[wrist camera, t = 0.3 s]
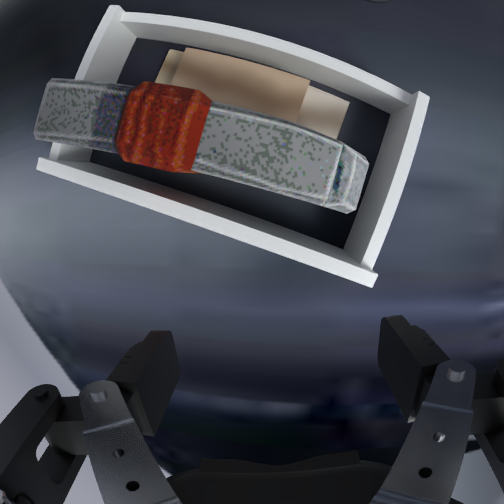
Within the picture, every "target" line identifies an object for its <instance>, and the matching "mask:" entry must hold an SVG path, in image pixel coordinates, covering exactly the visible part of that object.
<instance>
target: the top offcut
mask: <svg viewBox="0 0 504 504" xmlns="http://www.w3.org/2000/svg"><path fill="white" fill-rule="evenodd" d="M309 83H310V80H307V79H304V78H301V77H299V76H296V75H293V74H290V73H287V72H283V71H280V70H277V69H274V68H270V67H267V66H264V65H260V64H257V63H253V62H249V61H246V60H242V59H238V58H234V57H230V56H225V55H221V54H217V53H212V52H207V51H202V50H197V49H192V48H187V47H186V49H185V52H184V54H183V56H182V59H181V61H180V63H179V66H178V68H177V70H176V73H175V75H174V78H173V80H172V83H171V85H174V86H180V87H186V88H191V89H196V90H200V91H202V92H203V93H204V94H205V95H206V96H207V97H209V98H210V99H211V100H212V101H215V102H220V103H224V104H228V105H232V106H236V107H241V108H245V109H248V110H252V111H256V112H260V113H263V114H267V115H271V116H274V117H278V118H281V119H284V120H288V121H291V122H294V123H296V120H297V117H298V114H299V111H300V108H301V106H302V103H303V100H304V97H305V94H306V91H307V88H308V86H309Z"/></svg>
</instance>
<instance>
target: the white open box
mask: <svg viewBox="0 0 504 504" xmlns="http://www.w3.org/2000/svg"><path fill="white" fill-rule="evenodd" d="M136 38H144V39H152V40H159V41H165V42H172V43H178V44H183V45H189V46H194V47H199V48H204V49H208V50H213V51H217V52H221V53H226V54H230V55H234V56H237V57H241V58H245V59H249V60H252V61H256V62H259V63H263V64H266V65H269V66H272V67H276V68H279V69H282V70H285V71H288V72H291V73H294V74H297V75H299V76H302V77H305V78H308V79H310V80H313V81H316V82H318V83H321V84H324V85H326V86H329V87H331V88H334V89H336V90H339V91H341V92H343V93H346V94H348V95H350V96H353V97H355V98H357V99H359V100H362V101H364V102H366V103H368V104H370V105H372V106H374V107H377V108H379V109H381V110H383V111H385V112H387V113H389V114H391V115H390V118H389V121H388V125H387V128H386V131H385V134H384V137H383V141H382V144H381V147H380V150H379V153H378V156H377V159H376V162H375V165H374V168H373V171H372V174H371V176H370V179H369V182H368V185H367V188H366V191H365V193H364V196H363V199H362V202H361V204H360V207H359V210H358V212H357V215H356V218H355V220H354V223H353V225H352V228H351V231H350V233H349V236H348V238H347V241H346V243H345V246H344V248H343V249H341V248H338V247H336V246H333V245H331V244H328V243H325V242H323V241H320V240H317V239H315V238H312V237H309V236H307V235H304V234H301V233H299V232H296V231H293V230H290V229H288V228H285V227H282V226H279V225H277V224H274V223H271V222H268V221H266V220H263V219H260V218H257V217H254V216H252V215H249V214H246V213H243V212H240V211H238V210H235V209H232V208H229V207H226V206H223V205H220V204H217V203H214V202H212V201H209V200H206V199H203V198H200V197H197V196H194V195H191V194H188V193H185V192H182V191H179V190H176V189H173V188H170V187H167V186H164V185H161V184H158V183H155V182H152V181H149V180H145V179H142V178H139V177H136V176H133V175H130V174H127V173H123V172H120V171H117V170H114V169H111V168H107V167H104V166H101V165H98V164H94V163H91V162H90V158H91V155H92V151H93V149H90V148H85V147H79V146H73V145H68V144H62V143H55V142H53V144H52V148H51V152H50V155H49V158H46V157H39V160H38V164H37V168H36V170H39V171H42V172H45V173H48V174H51V175H54V176H57V177H60V178H63V179H65V180H68V181H71V182H74V183H77V184H80V185H83V186H86V187H89V188H92V189H95V190H97V191H100V192H103V193H106V194H109V195H112V196H115V197H118V198H121V199H123V200H126V201H129V202H132V203H135V204H138V205H141V206H143V207H146V208H149V209H152V210H155V211H158V212H161V213H164V214H166V215H169V216H172V217H175V218H178V219H181V220H183V221H186V222H189V223H192V224H195V225H198V226H201V227H203V228H206V229H209V230H212V231H215V232H218V233H220V234H223V235H226V236H229V237H232V238H235V239H237V240H240V241H243V242H246V243H249V244H251V245H254V246H257V247H260V248H263V249H265V250H268V251H271V252H274V253H277V254H279V255H282V256H285V257H288V258H291V259H293V260H296V261H299V262H302V263H305V264H307V265H310V266H313V267H316V268H319V269H321V270H324V271H327V272H330V273H332V274H335V275H338V276H341V277H344V278H346V279H349V280H352V281H355V282H357V283H360V284H363V285H366V286H368V287H371V288H372V287H373V285H374V283H375V281H376V278H377V276H378V274H377V273H376V272H374V271H373V270H372V268H373V266H374V264H375V261H376V259H377V257H378V254H379V252H380V249H381V247H382V244H383V242H384V239H385V237H386V234H387V232H388V229H389V227H390V224H391V221H392V219H393V216H394V213H395V210H396V208H397V205H398V202H399V199H400V197H401V194H402V191H403V188H404V185H405V182H406V179H407V176H408V173H409V170H410V167H411V163H412V160H413V157H414V154H415V150H416V147H417V144H418V140H419V137H420V133H421V130H422V126H423V122H424V118H425V115H426V111H427V107H428V103H429V98H430V97H429V96H427V95H425V94H424V93H422V92H420V91H418V92H416V93H414V94H412V95H411V94H409V93H408V92H406V91H404V90H402V89H400V88H398V87H396V86H394V85H392V84H390V83H388V82H386V81H384V80H382V79H380V78H378V77H376V76H374V75H372V74H370V73H368V72H366V71H363V70H361V69H359V68H357V67H354V66H352V65H350V64H347V63H345V62H342V61H340V60H338V59H335V58H333V57H330V56H327V55H325V54H322V53H319V52H317V51H314V50H311V49H308V48H306V47H303V46H300V45H297V44H294V43H291V42H287V41H284V40H281V39H278V38H274V37H271V36H267V35H264V34H260V33H256V32H253V31H249V30H245V29H240V28H236V27H232V26H227V25H222V24H218V23H212V22H207V21H202V20H196V19H189V18H183V17H175V16H168V15H159V14H148V13H135V12H125V11H124V10H123V9H122V8H121V7H120V6H119V5H110V6H109V8H108V9H107V11H106V13H105V15H104V17H103V18H102V20H101V22H100V24H99V26H98V28H97V30H96V32H95V34H94V36H93V38H92V40H91V42H90V44H89V46H88V49H87V51H86V53H85V55H84V57H83V60H82V62H81V64H80V67H79V69H78V71H77V74H76V76H75V79H76V80H88V81H98V82H107V83H117V80H118V78H119V75H120V73H121V71H122V68H123V66H124V64H125V61H126V59H127V57H128V55H129V53H130V50H131V48H132V46H133V44H134V42H135V40H136Z"/></svg>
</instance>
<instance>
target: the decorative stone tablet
mask: <svg viewBox="0 0 504 504" xmlns="http://www.w3.org/2000/svg"><path fill="white" fill-rule="evenodd" d="M33 133H34V136H35V139H36V140H43V141H49V142H55V143H62V144H68V145H73V146H79V147H85V148H90V149H96V150H101V151H106V152H111V153H116V154H119V155H120V157H121V158H122V159H123V160H124V161H126V162H130V163H135V164H139V165H144V166H148V167H153V168H157V169H161V170H166V171H170V172H179V173H196V174H203V173H204V174H208V175H212V176H216V177H220V178H224V179H228V180H232V181H235V182H239V183H243V184H246V185H250V186H254V187H257V188H261V189H264V190H268V191H271V192H275V193H278V194H282V195H286V196H289V197H293V198H296V199H300V200H303V201H306V202H310V203H313V204H317V205H320V206H323V207H327V208H330V209H333V210H336V211H340V212H343V213H346V214H348V213H350V212H352V211H354V210H356V208H357V204H358V201H359V198H360V194H361V191H362V187H363V184H364V180H365V177H366V173H367V170H368V167H369V163H368V161H367V159H366V157H364V156H363V155H361V154H360V153H358V152H357V151H355V150H354V149H352V148H351V147H349V146H347V145H346V144H344V143H343V142H341V141H338V140H336V139H334V138H331V137H329V136H327V135H324V134H322V133H319V132H317V131H315V130H312V129H310V128H307V127H304V126H302V125H299V124H297V123H294V122H291V121H288V120H284V119H281V118H278V117H274V116H271V115H267V114H263V113H260V112H256V111H252V110H248V109H245V108H241V107H236V106H232V105H228V104H224V103H220V102H215V101H212V100H211V99H210V98H209V97H207V96H206V95H205V94H204V93H203V92H202V91H200V90H196V89H191V88H186V87H180V86H174V85H168V84H161V83H155V82H147V81H144V82H142V83H141V84H140V85H139V86H131V85H124V84H116V83H107V82H98V81H88V80H76V79H60V78H52V79H51V80H50V81H49V82H48V83H47V85H46V89H45V92H44V95H43V98H42V102H41V105H40V109H39V112H38V116H37V120H36V124H35V128H34V132H33Z"/></svg>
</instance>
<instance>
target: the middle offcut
mask: <svg viewBox="0 0 504 504" xmlns="http://www.w3.org/2000/svg"><path fill="white" fill-rule="evenodd" d="M349 103H350V102H348V101H345V100H343V99H341V98H339V97H336V96H334V95H332V94H329V93H327V92H324V91H322V90H319V89H317V88H314V87H312V86H308V88H307V91H306V94H305V97H304V100H303V103H302V106H301V108H300V111H299V114H298V117H297V120H296V123H297V124H299V125H302V126H304V127H307V128H310V129H312V130H315V131H317V132H319V133H322V134H324V135H327V136H329V137H331V138H334V139H337V136H338V133H339V131H340V128H341V125H342V122H343V120H344V117H345V114H346V111H347V108H348V105H349Z"/></svg>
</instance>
